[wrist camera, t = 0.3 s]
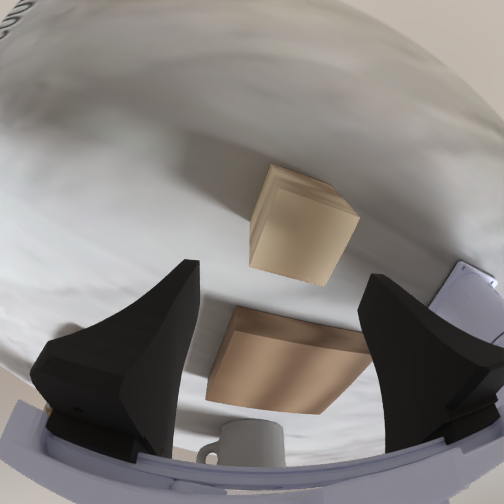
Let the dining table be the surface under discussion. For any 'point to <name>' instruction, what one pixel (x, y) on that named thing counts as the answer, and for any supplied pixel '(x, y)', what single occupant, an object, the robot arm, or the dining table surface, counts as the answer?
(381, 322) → the robot arm
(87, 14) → the dining table surface
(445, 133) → the dining table surface
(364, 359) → the walnut base
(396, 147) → the dining table surface
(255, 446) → the coffee mug
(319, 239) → the beech block
